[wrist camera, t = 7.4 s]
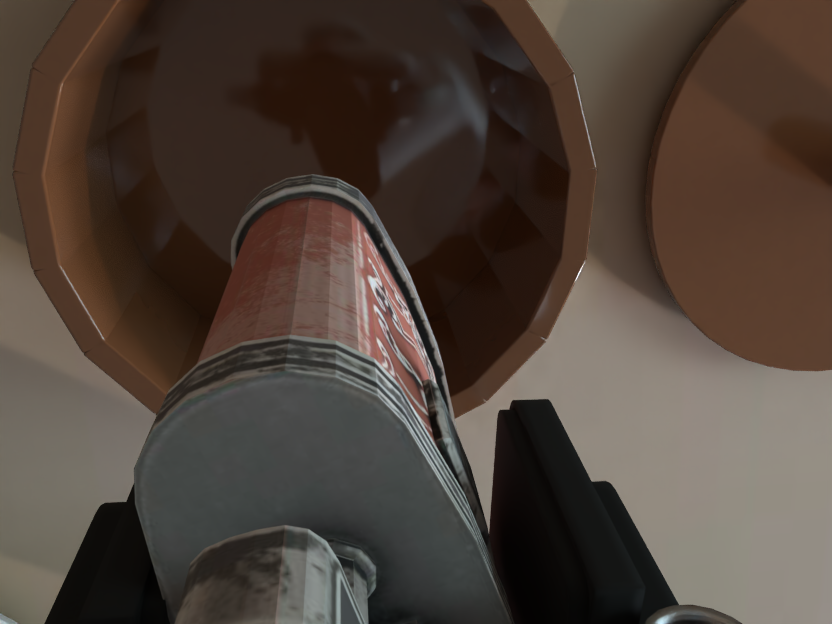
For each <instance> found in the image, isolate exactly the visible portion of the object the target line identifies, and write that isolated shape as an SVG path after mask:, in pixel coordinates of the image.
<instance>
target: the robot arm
mask: <svg viewBox="0 0 832 624" xmlns="http://www.w3.org/2000/svg"><path fill="white" fill-rule="evenodd" d="M489 538H490V542H491V547H492V552H493V557H494V561H495V566H496V571H497V574H498V576H499V579H500V581H501V584H502V586H503V588H504V591H505V593H506V596H507V598H508V602H509V606H510V609H511V613H512V617H513V620H514V624H742V623H740V622H739V621H737V620H736V619H734V618H733V617H731V616H728V615H726V614H724V613H721V612H719V611H716V610H714V609H711V608H706V607H701V606H696V605H679V604H678V602H677V601H676V599H675V597H674V595H673V593H672V591H671V590H670V588H669V586H668V584H667V582H666V581H665V579H664V577H663V575H662V573H661V571H660V570H659V568H658V566H657V564H656V562H655V561H654V559H653V557H652V555H651V553H650V552H649V550H648V548H647V546H646V544H645V542H644V541H643V539H642V537H641V535H640V533H639V532H638V530H637V528H636V526H635V524H634V523H633V521H632V519H631V517H630V515H629V513H628V512H627V510H626V508H625V506H624V504H623V503H622V501H621V499H620V497H619V495H618V494H617V492H616V490H615V489H614V487H613V486H612V484H611V483H609V482H607V481H599V482H591V480H590V478H589V476H588V474H587V472H586V470H585V468H584V466H583V464H582V462H581V460H580V458H579V456H578V454H577V452H576V450H575V448H574V446H573V445H572V443H571V441H570V439H569V437H568V435H567V433H566V431H565V429H564V427H563V425H562V423H561V421H560V419H559V417H558V415H557V413H556V411H555V409H554V407H553V405H552V403H551V402H550V401H549V400H548V399H539V400H513V401H512V402H511V405H510V410H500V411H499V413H498V418H497V432H496V446H495V460H494V474H493V488H492V502H491V516H490V530H489ZM45 624H170V622H169V618H168V614H167V607H166V601H165V600H163V598H162V594H161V591H160V587H159V584H158V581H157V577H156V574H155V570H154V567H153V563H152V560H151V557H150V553H149V550H148V546H147V543H146V540H145V536H144V533H143V529H142V526H141V522H140V519H139V516H138V512H137V509H136V505H135V485H133V487H132V490H131V492H130V494H129V497H128V499H127V502H115V503H104V504H102V505H101V506H100V507H99V509H98V510H97V512H96V514H95V516H94V518H93V520H92V522H91V524H90V527H89V529H88V531H87V533H86V535H85V537H84V540H83V542H82V544H81V546H80V548H79V550H78V553H77V555H76V557H75V559H74V561H73V563H72V565H71V568H70V570H69V572H68V574H67V576H66V578H65V581H64V583H63V585H62V587H61V589H60V591H59V594H58V596H57V598H56V600H55V602H54V604H53V607H52V609H51V611H50V613H49V615H48V617H47V619H46V622H45Z"/></svg>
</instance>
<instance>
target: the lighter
mask: <svg viewBox="0 0 832 624" xmlns="http://www.w3.org/2000/svg"><path fill="white" fill-rule="evenodd" d="M231 266H232V273H231V275H230V278H229V280H228V283H227V286H226V288H225V291H224V294H223V296H222V299H221V302H220V304H219V307H218V310H217V312H216V315H215V317H214V320H213V323H212V325H211V328H210V331H209V333H208V336H207V339H206V341H205V344H204V347H203V349H202V352H201V354H200V357H199V360H198V362H197V365H196V366H194V367H193V368H192V369H191V370H190V371H189V372H188V373H187V374H186V375H185V376H184V377H183V378H182V379H180V380H179V381H178V382H177V383H176V384H175V385H174V386H173V387H172V388H171V389H170V390H169V391H168V393H167V395H166V397H165V400H164V402H163V404H162V406H161V408H160V410H159V412H158V414H157V417H156V419H155V421H154V423H153V425H152V427H151V430H150V432H149V434H148V437H147V439H146V441H145V444H144V446H143V449H142V451H141V453H140V456H139V458H138V460H137V463H136V465H135V467H134V485H135V505H136V509H137V512H138V516H139V519H140V522H141V526H142V529H143V533H144V536H145V540H146V543H147V546H148V550H149V553H150V557H151V560H152V563H153V567H154V570H155V574H156V577H157V581H158V584H159V587H160V591H161V594H162V598H163V600H165V601H166V607H167V614H168V618H169V622H170V624H514V620H513V617H512V613H511V609H510V606H509V602H508V598H507V596H506V593H505V591H504V588H503V586H502V584H501V581H500V579H499V576H498V574H497V571H496V566H495V561H494V557H493V552H492V547H491V542H490V538H489V533H488V528H487V525H486V521H485V517H484V514H483V510H482V506H481V503H480V499H479V495H478V492H477V488H476V485H475V481H474V477H473V474H472V470H471V467H470V464H469V462H468V459H467V457H466V454H465V452H464V449H463V447H462V444H461V442H460V439H459V437H458V431H457V427H456V422H455V418H454V413H453V408H452V404H451V399H450V395H449V390H448V385H447V381H446V376H445V372H444V367H443V363H442V359H441V356H440V352H439V349H438V345H437V342H436V340H435V337H434V335H433V332H432V330H431V327H430V325H429V322H428V319H427V317H426V314H425V312H424V309H423V307H422V304H421V302H420V299H419V296H418V294H417V291H416V289H415V286H414V284H413V281H412V279H411V276H410V274H409V272H408V270H407V268H406V267H405V265H404V263H403V261H402V259H401V257H400V256H399V254H398V252H397V250H396V248H395V246H394V245H393V243H392V241H391V239H390V237H389V235H388V234H387V232H386V230H385V228H384V226H383V224H382V223H381V221H380V219H379V217H378V215H377V213H376V212H375V210H374V208H373V206H372V205H371V204H370V202H369V201H368V200H367V199H366V198H365V197H364V195H363V194H362V193H361V192H360V191H359V190H358V189H357V188H355V187H353V186H351V185H349V184H347V183H345V182H344V181H342V180H340V179H338V178H333V177H327V176H320V175H314V174H311V175H304V176H297V177H290V178H286V179H284V180H282V181H280V182H278V183H276V184H273V185H271V186H269V187H267V188H265V189H264V190H263V191H262V192H261V193H260V194H259V195H257V196H256V197H255V198H254V199H253V200H252V201H251V202H250V203H249V204H248V205H247V207H246V209H245V211H244V213H243V215H242V218H241V220H240V222H239V224H238V226H237V228H236V231H235V233H234V236H233V238H232V240H231Z"/></svg>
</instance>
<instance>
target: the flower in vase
mask: <svg viewBox="0 0 832 624" xmlns="http://www.w3.org/2000/svg"><path fill="white" fill-rule="evenodd" d="M0 624H18V623H17V622H15V621H14V620H12V619H10V618H8V617H6V616H4V615H3V614H1V613H0Z"/></svg>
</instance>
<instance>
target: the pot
mask: <svg viewBox="0 0 832 624" xmlns="http://www.w3.org/2000/svg"><path fill="white" fill-rule="evenodd" d="M13 170H14V171H13V179H14V184H15V189H16V194H17V199H18V203H19V208H20V213H21V218H22V223H23V228H24V233H25V238H26V243H27V248H28V253H29V258H30V263H31V268H32V269H33V270H34V271H33V272H34V275H35V276H36V278H37V279H38V281H39V283H40V284H41V286H42V288H43V289H44V291H45V292H46V294H47V296H48V297H49V299H50V301H51V302H52V304H53V305H54V307H55V309H56V310H57V312H58V314H59V315H60V317H61V318H62V320H63V322H64V323H65V325H66V327H67V328H68V330H69V331H70V333H71V335H72V336H73V338H74V340H75V341H76V343H77V344H78V346H79V348H80V349H81V351H82V352H84V355H85V356H86V357H87V358H88V359H89V360H91V361H92V362H93V363H94V364H95V365H97V366H98V367H99V368H100V369H101V370H103V371H104V372H105V373H106V374H107V375H109V376H110V377H111V378H112V379H113V380H115V381H116V382H117V383H118V384H119V385H121V386H122V387H123V388H124V389H125V390H127V391H128V392H129V393H130V394H131V395H132V396H134V397H135V398H136V399H137V400H138V401H140V402H141V403H142V404H143V405H144V406H146V407H147V408H148V409H149V410H150V411H152V412H153V413H156V415H157V414H158V412H159V410H160V408H161V406H162V404H163V402H164V400H165V397H166V395H167V393H168V391H169V390H170V389H171V388H172V387H173V386H174V385H175V384H176V383H177V382H178V381H179V380H180V379H182V378H183V377H184V376H185V375H186V374H187V373H188V372H189V371H190V370H191V369H192V368H193V367H194V366H196V365H197V362H198V360H199V357H200V354H201V352H202V349H203V347H204V344H205V341H206V339H207V336H208V333H209V331H210V328H211V325H212V323H213V320H214V317H215V315H216V312H217V310H218V307H219V304H220V302H221V299H222V296H223V294H224V291H225V288H226V286H227V283H228V280H229V278H230V275H231V273H232V266H231V240H232V238H233V236H234V233H235V231H236V228H237V226H238V224H239V222H240V220H241V218H242V215H243V213H244V211H245V209H246V207H247V205H248V204H249V203H250V202H251V201H252V200H253V199H254V198H255V197H256V196H257V195H259V194H260V193H261V192H262V191H263V190H264V189H265V188H267V187H269V186H271V185H273V184H276V183H278V182H280V181H282V180H284V179H286V178H290V177H297V176H304V175H311V174H314V175H320V176H327V177H333V178H338V179H340V180H342V181H344V182H345V183H347V184H349V185H351V186H353V187H355V188H357V189H358V190H359V191H360V192H361V193H362V194H363V195H364V197H365V198H366V199H367V200H368V201H369V202H370V204H371V205H372V206H373V208H374V210H375V212H376V213H377V215H378V217H379V219H380V221H381V223H382V224H383V226H384V228H385V230H386V232H387V234H388V235H389V237H390V239H391V241H392V243H393V245H394V246H395V248H396V250H397V252H398V254H399V256H400V257H401V259H402V261H403V263H404V265H405V267H406V268H407V270H408V272H409V274H410V276H411V279H412V281H413V284H414V286H415V289H416V291H417V294H418V296H419V299H420V302H421V304H422V307H423V309H424V312H425V314H426V317H427V319H428V322H429V325H430V327H431V330H432V332H433V335H434V337H435V340H436V342H437V345H438V349H439V352H440V356H441V359H442V363H443V367H444V372H445V376H446V381H447V385H448V390H449V395H450V399H451V404H452V408H453V413H454V418H457V417H459V416H461V415H463V414H465V413H467V412H469V411H470V410H472V409H474V408H476V407H478V406H480V405H482V404H484V403H485V402H486V401H488V400H489V399H490V398H491V397H492V396H493V395H494V394H495V393H496V392H497V391H498V390H499V389H500V388H501V387H502V386H503V385H504V384H505V383H506V382H507V381H508V380H509V379H510V377H511V376H512V375H513V374H514V373H515V372H516V371H517V370H518V369H519V368H520V367H521V366H522V365H523V364H524V363H525V362H526V361H527V360H528V359H529V358H530V357H531V356H532V355H533V354H534V353H535V352H536V351H537V350H538V349H539V348H540V347H541V346H542V345H543V344H544V343H545V342H546V339H547V338H548V337H549V335H550V333H551V331H552V329H553V327H554V325H555V322H556V320H557V318H558V316H559V314H560V312H561V310H562V308H563V306H564V304H565V302H566V300H567V298H568V296H569V294H570V292H571V290H572V288H573V286H574V284H575V282H576V280H577V278H578V276H579V274H580V272H581V270H582V268H583V265H584V263H585V260H586V259H587V251H588V243H589V234H590V226H591V218H592V209H593V201H594V193H595V184H596V176H597V168H596V161H595V157H594V153H593V148H592V144H591V140H590V136H589V132H588V127H587V123H586V119H585V115H584V110H583V106H582V102H581V98H580V94H579V89H578V85H577V81H576V77H575V74H574V72H573V68H572V67H571V65H570V64H569V62H568V61H567V59H566V58H565V56H564V55H563V53H562V52H561V50H560V49H559V47H558V46H557V44H556V43H555V41H554V40H553V39H552V37H551V36H550V34H549V33H548V31H547V30H546V28H545V27H544V25H543V24H542V22H541V21H540V19H539V18H538V16H537V15H536V13H535V12H534V10H533V9H532V7H531V6H530V4H529V3H528V1H527V0H74V2H73V3H72V5H71V6H70V8H69V9H68V11H67V12H66V14H65V15H64V17H63V18H62V20H61V21H60V23H59V24H58V26H57V27H56V29H55V30H54V32H53V33H52V35H51V36H50V38H49V39H48V41H47V42H46V44H45V45H44V47H43V48H42V50H41V51H40V53H39V54H38V56H37V57H36V59H35V60H34V62H33V63H32V68H31V70H30V74H29V80H28V85H27V91H26V96H25V102H24V107H23V113H22V118H21V123H20V129H19V134H18V140H17V145H16V151H15V156H14V162H13Z"/></svg>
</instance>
